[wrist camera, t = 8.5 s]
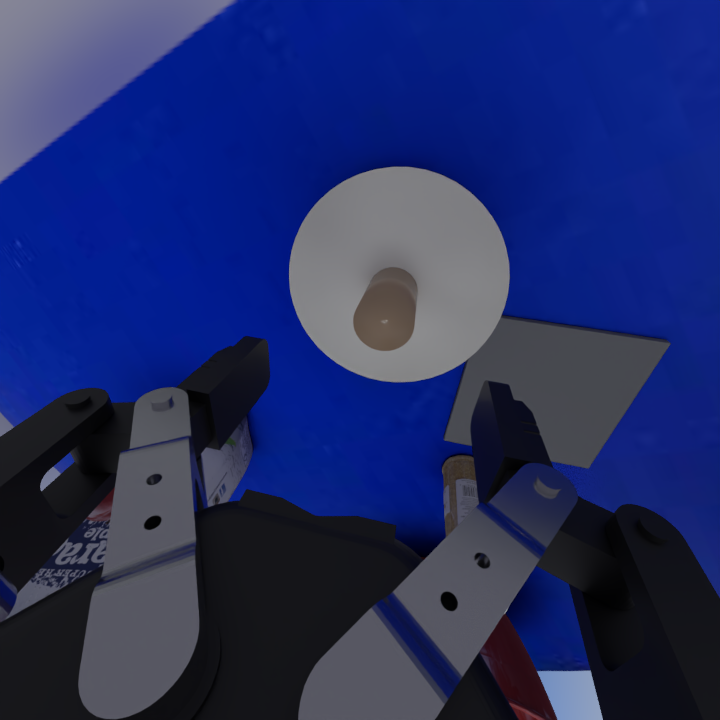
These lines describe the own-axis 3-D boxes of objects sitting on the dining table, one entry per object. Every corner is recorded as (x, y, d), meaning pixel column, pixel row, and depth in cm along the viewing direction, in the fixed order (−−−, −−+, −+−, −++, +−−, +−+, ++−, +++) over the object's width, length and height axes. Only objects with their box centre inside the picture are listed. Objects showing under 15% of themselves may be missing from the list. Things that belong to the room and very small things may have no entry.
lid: (539, 178, 18) (583, 184, 13) (474, 386, 25) (485, 445, 20) (291, 156, 20) (241, 154, 14) (297, 358, 27) (265, 405, 22)
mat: (666, 339, 26) (670, 343, 25) (586, 463, 33) (588, 468, 33) (480, 312, 27) (481, 315, 27) (443, 436, 35) (443, 440, 34)
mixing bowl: (574, 562, 41) (640, 748, 28) (486, 647, 56) (502, 793, 43) (352, 498, 43) (317, 646, 30) (325, 597, 58) (294, 724, 45)
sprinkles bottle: (433, 468, 37) (433, 602, 26) (461, 446, 35) (474, 583, 24) (465, 488, 38) (479, 627, 27) (495, 467, 36) (524, 611, 24)
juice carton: (263, 457, 42) (60, 812, 19) (187, 444, 43) (-85, 758, 21) (253, 401, 37) (-29, 781, 14) (168, 388, 39) (-208, 715, 16)
